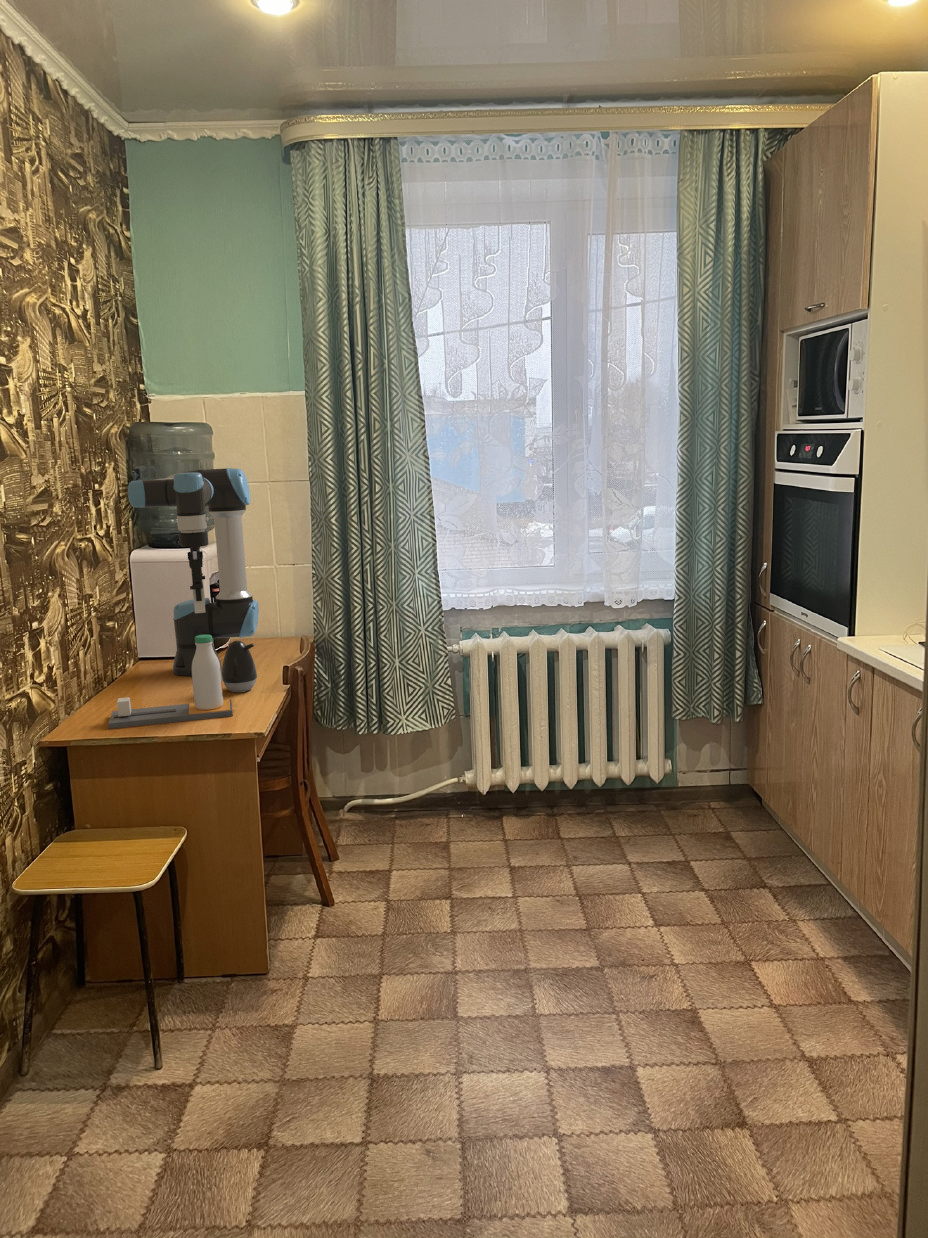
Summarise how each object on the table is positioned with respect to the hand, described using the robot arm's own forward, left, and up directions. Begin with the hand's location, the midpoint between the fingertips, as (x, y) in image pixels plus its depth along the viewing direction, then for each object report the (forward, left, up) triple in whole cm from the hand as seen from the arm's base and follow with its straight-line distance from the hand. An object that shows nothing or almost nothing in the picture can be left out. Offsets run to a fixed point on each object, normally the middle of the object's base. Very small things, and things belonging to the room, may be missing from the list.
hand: (200, 608), depth 265 cm
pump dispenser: (-18, +9, -29) cm, 35 cm away
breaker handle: (+3, -22, -27) cm, 35 cm away
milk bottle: (+3, 0, -27) cm, 28 cm away
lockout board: (+3, -10, -29) cm, 31 cm away
